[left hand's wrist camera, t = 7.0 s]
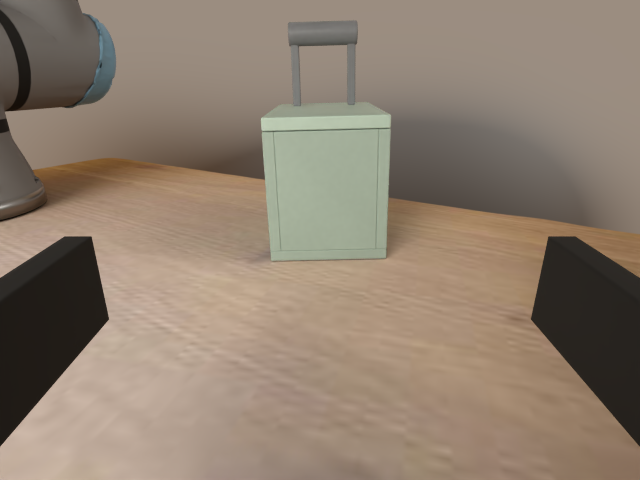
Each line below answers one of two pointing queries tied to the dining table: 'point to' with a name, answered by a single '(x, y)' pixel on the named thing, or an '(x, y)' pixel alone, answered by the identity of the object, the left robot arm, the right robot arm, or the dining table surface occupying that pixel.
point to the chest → (327, 193)
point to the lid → (324, 113)
